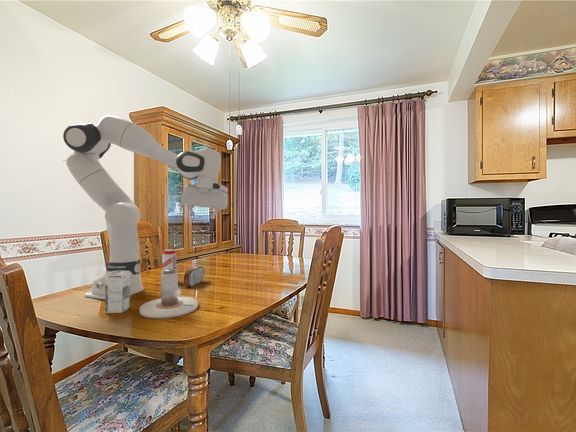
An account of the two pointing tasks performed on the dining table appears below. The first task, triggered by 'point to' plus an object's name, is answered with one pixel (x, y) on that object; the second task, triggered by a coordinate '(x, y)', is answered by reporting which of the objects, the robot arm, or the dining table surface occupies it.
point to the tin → (193, 276)
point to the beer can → (169, 259)
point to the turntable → (168, 308)
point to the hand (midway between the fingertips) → (202, 217)
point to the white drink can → (169, 287)
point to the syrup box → (117, 291)
